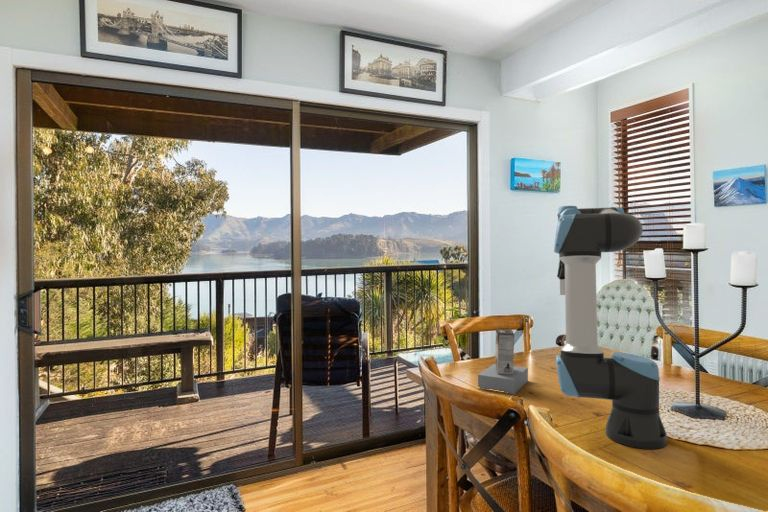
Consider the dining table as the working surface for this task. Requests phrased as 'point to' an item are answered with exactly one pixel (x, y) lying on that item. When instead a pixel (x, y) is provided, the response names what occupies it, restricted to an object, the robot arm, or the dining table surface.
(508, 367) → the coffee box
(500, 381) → the grey flat block
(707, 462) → the dining table surface
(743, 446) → the dining table surface
